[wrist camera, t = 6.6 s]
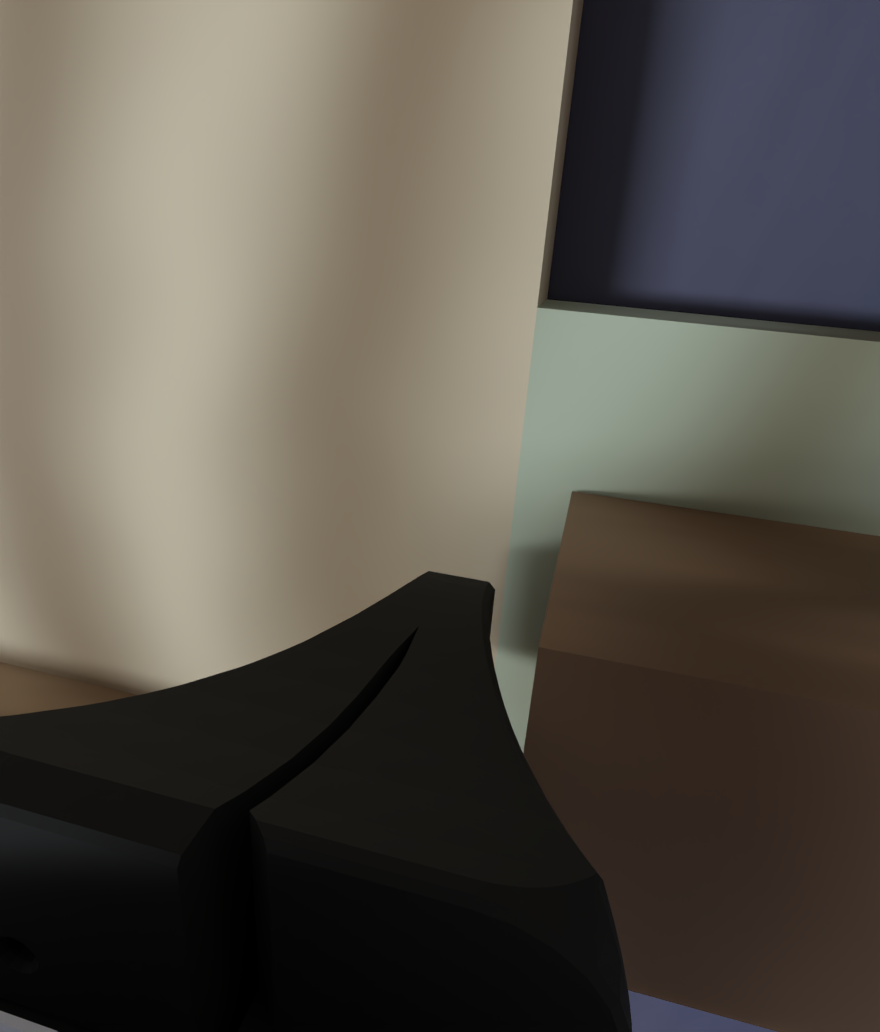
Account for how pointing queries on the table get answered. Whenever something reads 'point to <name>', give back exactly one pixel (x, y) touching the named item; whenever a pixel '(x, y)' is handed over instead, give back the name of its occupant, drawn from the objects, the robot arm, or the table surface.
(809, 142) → the table surface
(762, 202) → the table surface
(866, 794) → the walnut block
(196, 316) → the cubby base
